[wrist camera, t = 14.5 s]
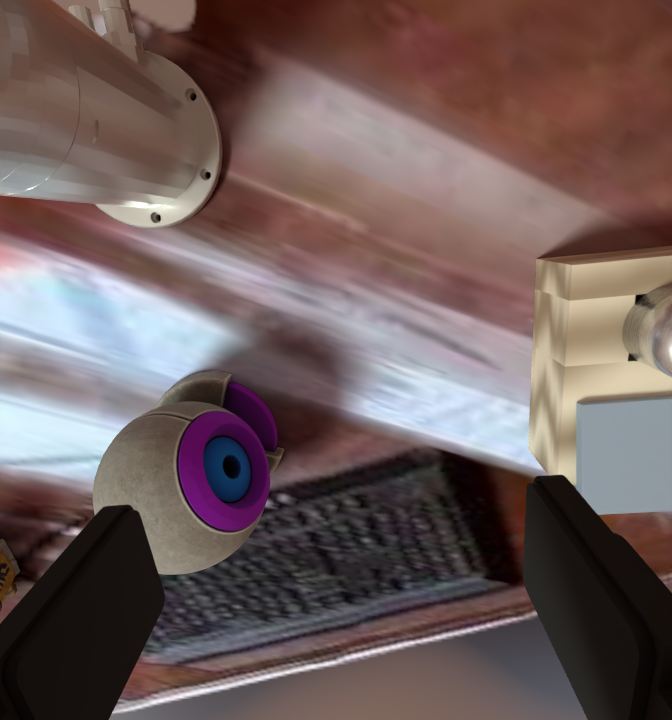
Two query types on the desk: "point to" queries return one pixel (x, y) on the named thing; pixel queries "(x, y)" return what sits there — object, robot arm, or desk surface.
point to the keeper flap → (625, 454)
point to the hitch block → (587, 343)
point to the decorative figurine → (7, 573)
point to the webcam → (194, 470)
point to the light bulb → (651, 329)
